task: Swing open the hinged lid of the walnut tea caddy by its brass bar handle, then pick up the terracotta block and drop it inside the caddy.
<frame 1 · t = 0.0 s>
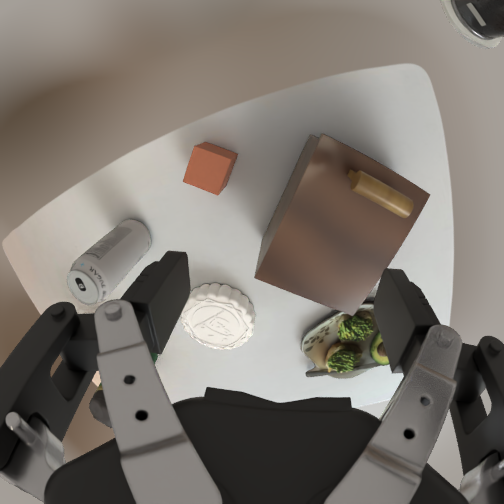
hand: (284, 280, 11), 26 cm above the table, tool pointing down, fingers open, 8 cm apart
mooncake: (220, 311, 47), on the table
block: (215, 163, 36), on the table
lid: (346, 245, 26), point 12 cm above the table, hinge at 0.0°
energy drink can: (137, 234, 42), on the table
caddy: (328, 208, 37), on the table
coffee jar: (140, 350, 55), on the table
avocado toast plate: (356, 338, 47), on the table
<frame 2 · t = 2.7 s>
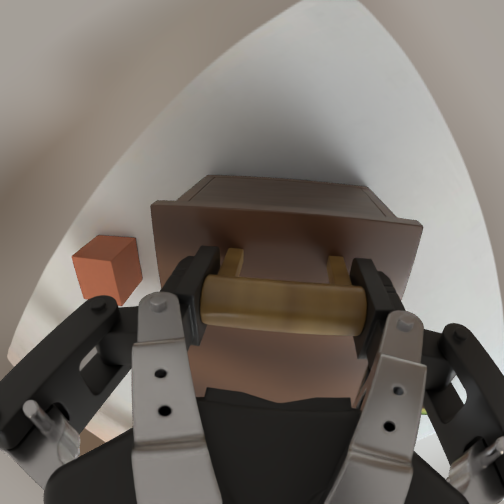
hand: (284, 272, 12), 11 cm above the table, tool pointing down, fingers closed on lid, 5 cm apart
block: (119, 257, 26), on the table
lid: (273, 374, 14), point 12 cm above the table, hinge at -0.1°, touching gripper
caddy: (281, 267, 25), on the table
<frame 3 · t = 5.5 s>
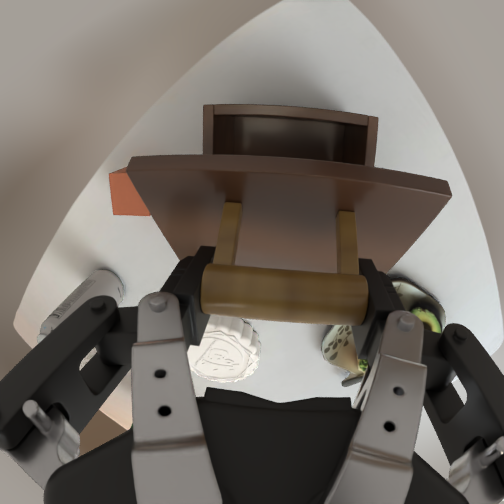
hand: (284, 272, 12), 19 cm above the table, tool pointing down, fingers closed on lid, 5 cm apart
mooncake: (220, 341, 40), on the table
block: (147, 184, 31), on the table
lid: (280, 298, 16), point 17 cm above the table, hinge at 38.6°, touching gripper
energy drink can: (110, 283, 39), on the table
caddy: (286, 184, 30), on the table
avocado toast plate: (388, 328, 36), on the table
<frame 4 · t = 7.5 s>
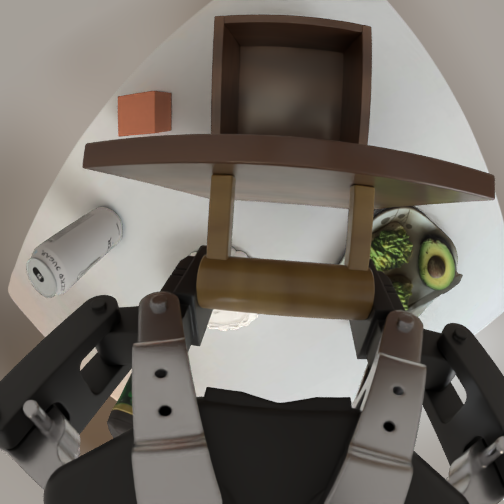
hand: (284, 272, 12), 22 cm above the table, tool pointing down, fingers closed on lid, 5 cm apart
mooncake: (222, 283, 39), on the table
block: (153, 113, 30), on the table
lid: (286, 229, 15), point 18 cm above the table, hinge at 70.1°, touching gripper
energy drink can: (109, 224, 37), on the table
caddy: (290, 107, 28), on the table
coffee jar: (162, 362, 49), on the table
avocado toast plate: (399, 267, 35), on the table
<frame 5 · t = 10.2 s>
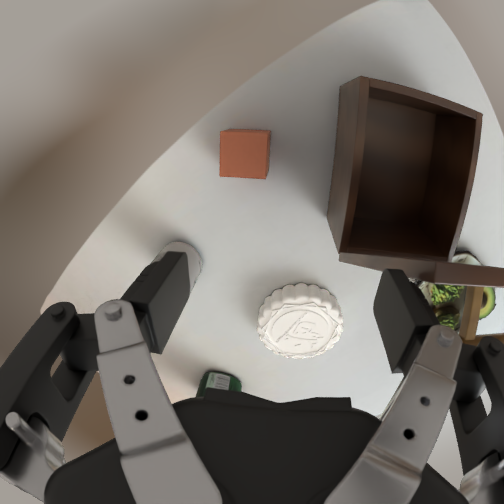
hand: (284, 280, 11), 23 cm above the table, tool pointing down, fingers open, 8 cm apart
mooncake: (300, 315, 41), on the table
block: (249, 149, 31), on the table
lid: (444, 300, 16), point 18 cm above the table, hinge at 63.7°
energy drink can: (183, 258, 38), on the table
caddy: (386, 161, 29), on the table
coffee jar: (221, 384, 51), on the table
avocado toast plate: (449, 299, 36), on the table
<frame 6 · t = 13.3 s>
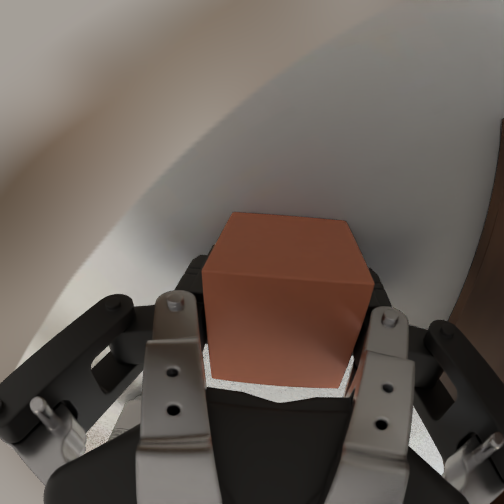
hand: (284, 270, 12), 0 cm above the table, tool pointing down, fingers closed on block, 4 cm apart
block: (285, 265, 12), on the table, touching gripper
energy drink can: (162, 410, 20), on the table
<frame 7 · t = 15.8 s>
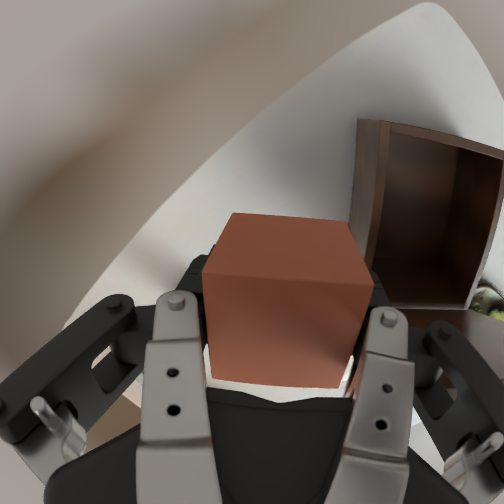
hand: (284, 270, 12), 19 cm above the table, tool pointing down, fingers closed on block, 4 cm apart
block: (285, 266, 12), point 19 cm above the table, touching gripper
lid: (454, 367, 14), point 18 cm above the table, hinge at 62.7°, touching hand
caddy: (406, 198, 27), on the table
avocado toast plate: (466, 328, 33), on the table
when the fingers open (10 cm above the table, at t = 19.4 s): block drops 9 cm, resting on caddy.
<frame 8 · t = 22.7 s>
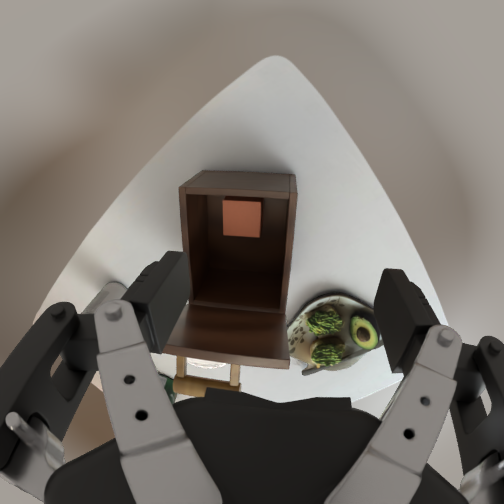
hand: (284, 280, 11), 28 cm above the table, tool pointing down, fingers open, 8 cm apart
mooncake: (204, 336, 52), on the table
block: (246, 207, 39), point 1 cm above the table, touching caddy
lid: (221, 348, 28), point 18 cm above the table, hinge at 62.3°
energy drink can: (119, 292, 50), on the table
caddy: (246, 225, 41), on the table
coffee jar: (164, 383, 62), on the table
avocado toast plate: (336, 330, 48), on the table
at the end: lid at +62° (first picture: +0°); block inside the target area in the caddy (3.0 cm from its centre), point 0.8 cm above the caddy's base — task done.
